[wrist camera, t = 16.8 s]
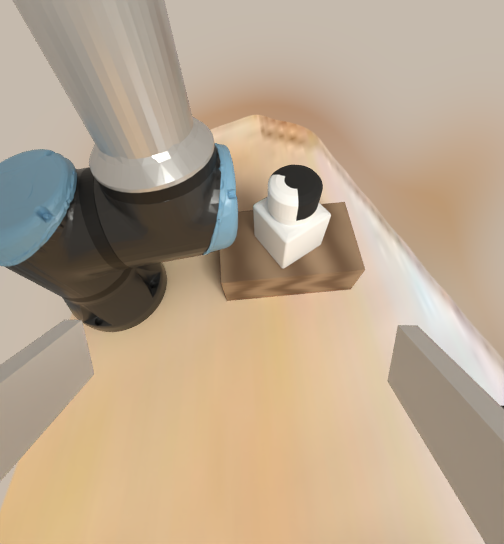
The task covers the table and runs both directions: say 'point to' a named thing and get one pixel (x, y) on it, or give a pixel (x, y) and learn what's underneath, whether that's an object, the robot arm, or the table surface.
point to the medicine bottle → (291, 214)
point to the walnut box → (300, 274)
